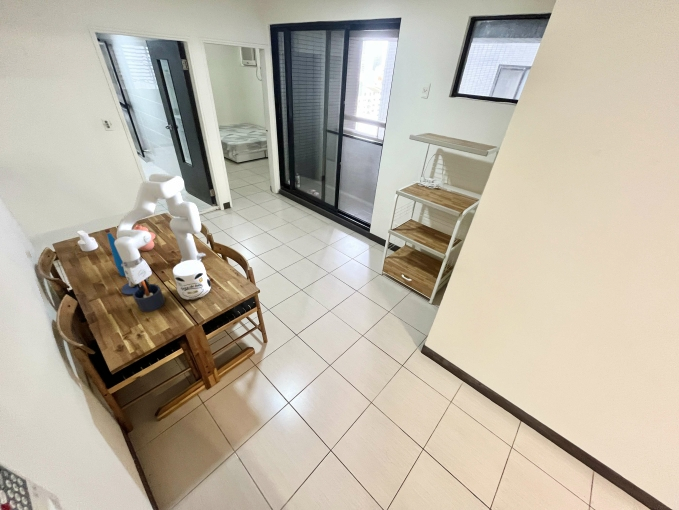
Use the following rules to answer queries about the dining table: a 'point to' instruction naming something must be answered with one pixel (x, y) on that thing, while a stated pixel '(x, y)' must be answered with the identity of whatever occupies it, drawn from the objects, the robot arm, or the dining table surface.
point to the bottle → (115, 253)
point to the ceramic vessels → (151, 243)
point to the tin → (149, 298)
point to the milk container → (191, 279)
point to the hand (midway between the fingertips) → (145, 289)
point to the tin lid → (129, 289)
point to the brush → (146, 290)
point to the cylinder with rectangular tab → (86, 241)
